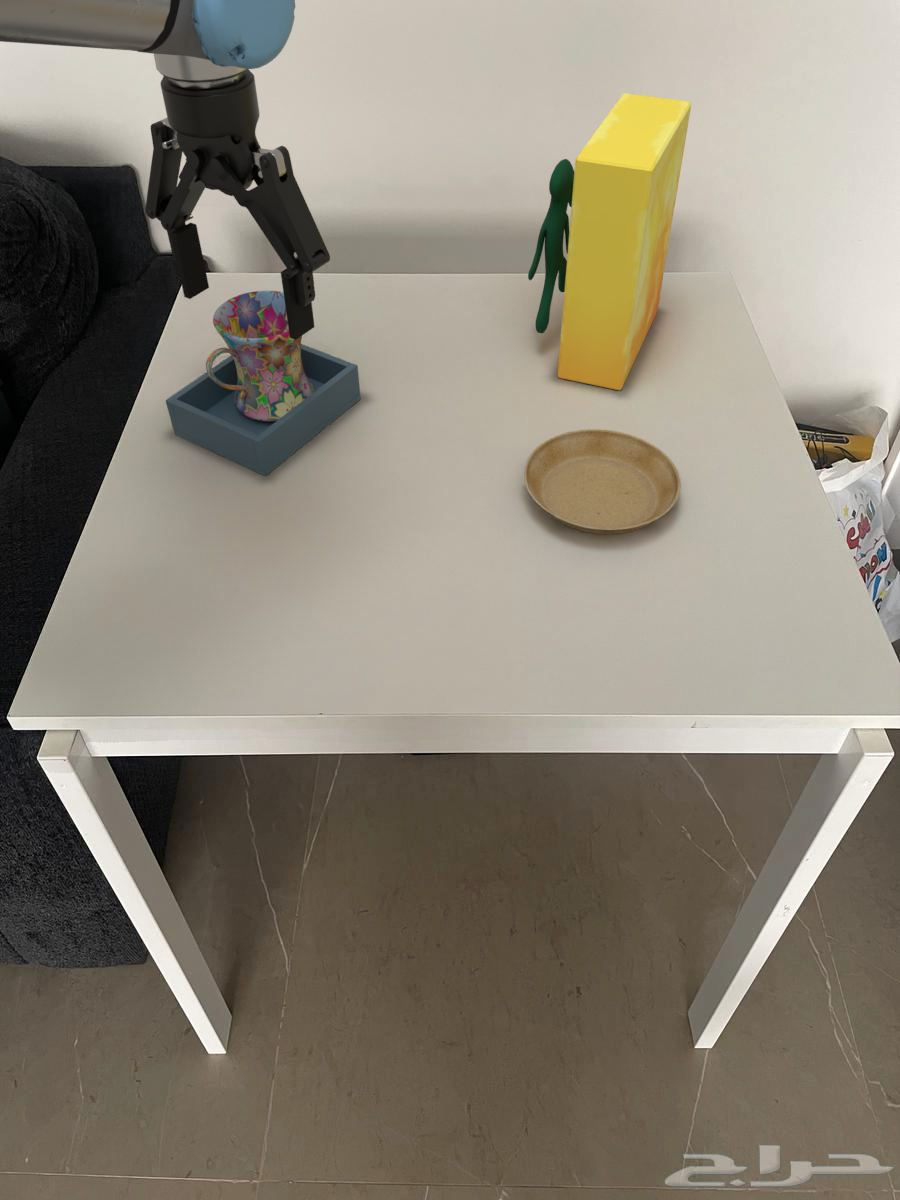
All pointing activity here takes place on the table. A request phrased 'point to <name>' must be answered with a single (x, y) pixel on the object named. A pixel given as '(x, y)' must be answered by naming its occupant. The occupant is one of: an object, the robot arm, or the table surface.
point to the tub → (262, 444)
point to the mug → (261, 355)
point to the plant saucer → (602, 480)
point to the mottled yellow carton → (612, 237)
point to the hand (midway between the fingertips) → (248, 312)
